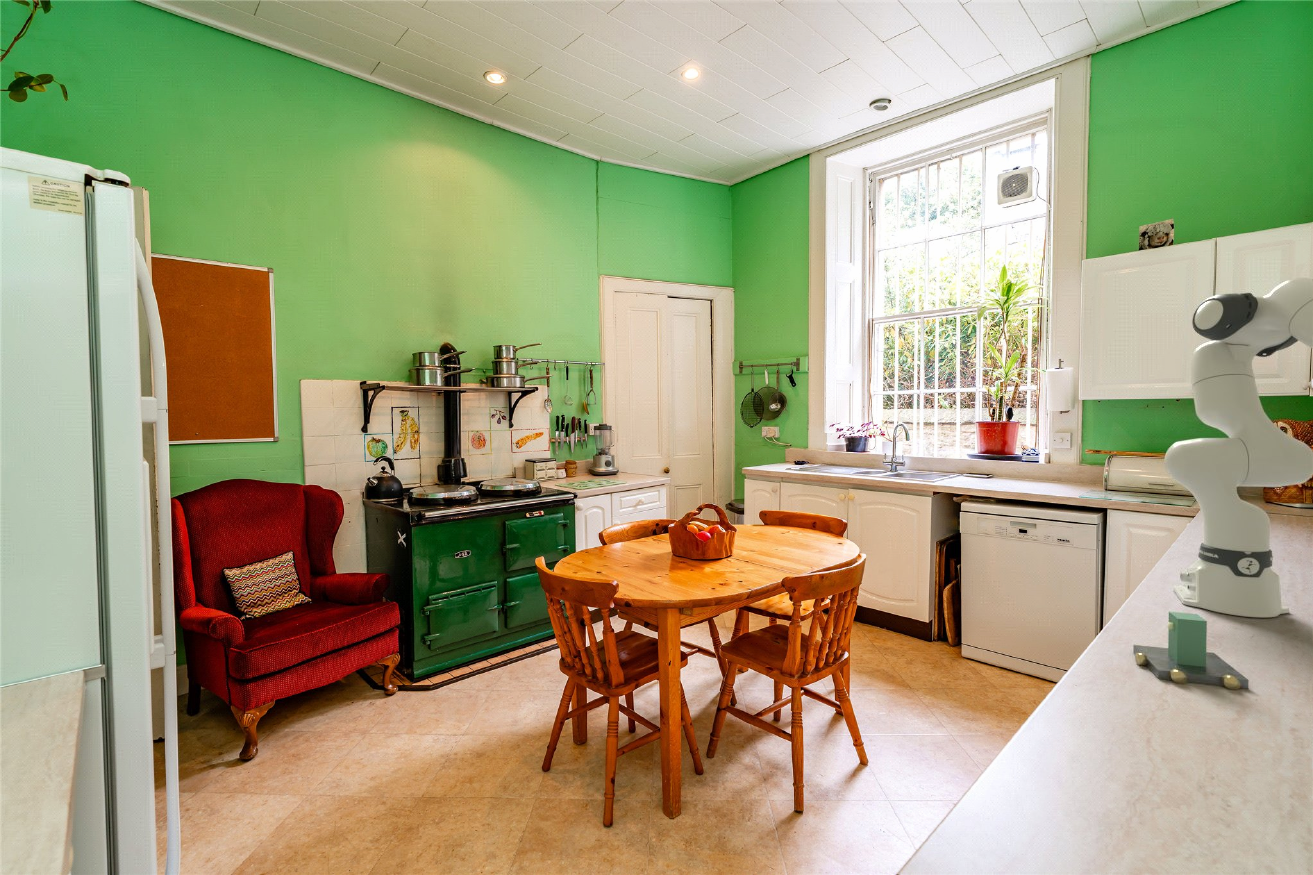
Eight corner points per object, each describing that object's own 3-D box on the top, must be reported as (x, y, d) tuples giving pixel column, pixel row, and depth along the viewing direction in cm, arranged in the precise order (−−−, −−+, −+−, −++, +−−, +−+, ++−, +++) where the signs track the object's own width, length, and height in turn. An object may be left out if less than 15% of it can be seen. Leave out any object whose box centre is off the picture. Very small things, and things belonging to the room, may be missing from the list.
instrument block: (1164, 654, 111) (1164, 611, 111) (1196, 658, 109) (1196, 613, 109) (1172, 663, 107) (1173, 618, 107) (1206, 666, 106) (1206, 621, 105)
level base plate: (1125, 651, 116) (1125, 641, 116) (1213, 660, 112) (1213, 649, 111) (1152, 680, 104) (1152, 668, 104) (1252, 692, 99) (1252, 679, 99)
